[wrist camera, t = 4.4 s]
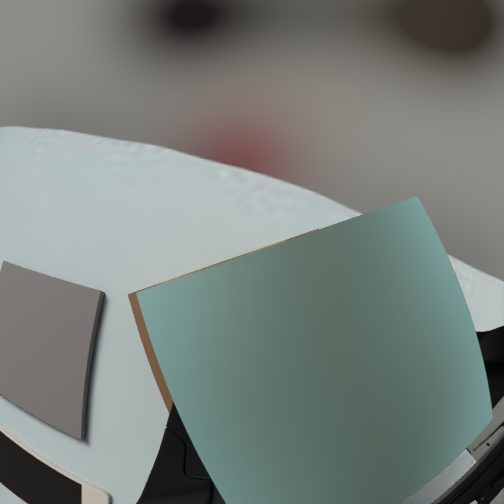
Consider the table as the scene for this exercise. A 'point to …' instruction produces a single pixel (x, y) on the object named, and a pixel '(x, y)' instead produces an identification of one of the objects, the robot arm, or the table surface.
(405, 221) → the peg
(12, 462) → the smartphone
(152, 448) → the table surface
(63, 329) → the mat
